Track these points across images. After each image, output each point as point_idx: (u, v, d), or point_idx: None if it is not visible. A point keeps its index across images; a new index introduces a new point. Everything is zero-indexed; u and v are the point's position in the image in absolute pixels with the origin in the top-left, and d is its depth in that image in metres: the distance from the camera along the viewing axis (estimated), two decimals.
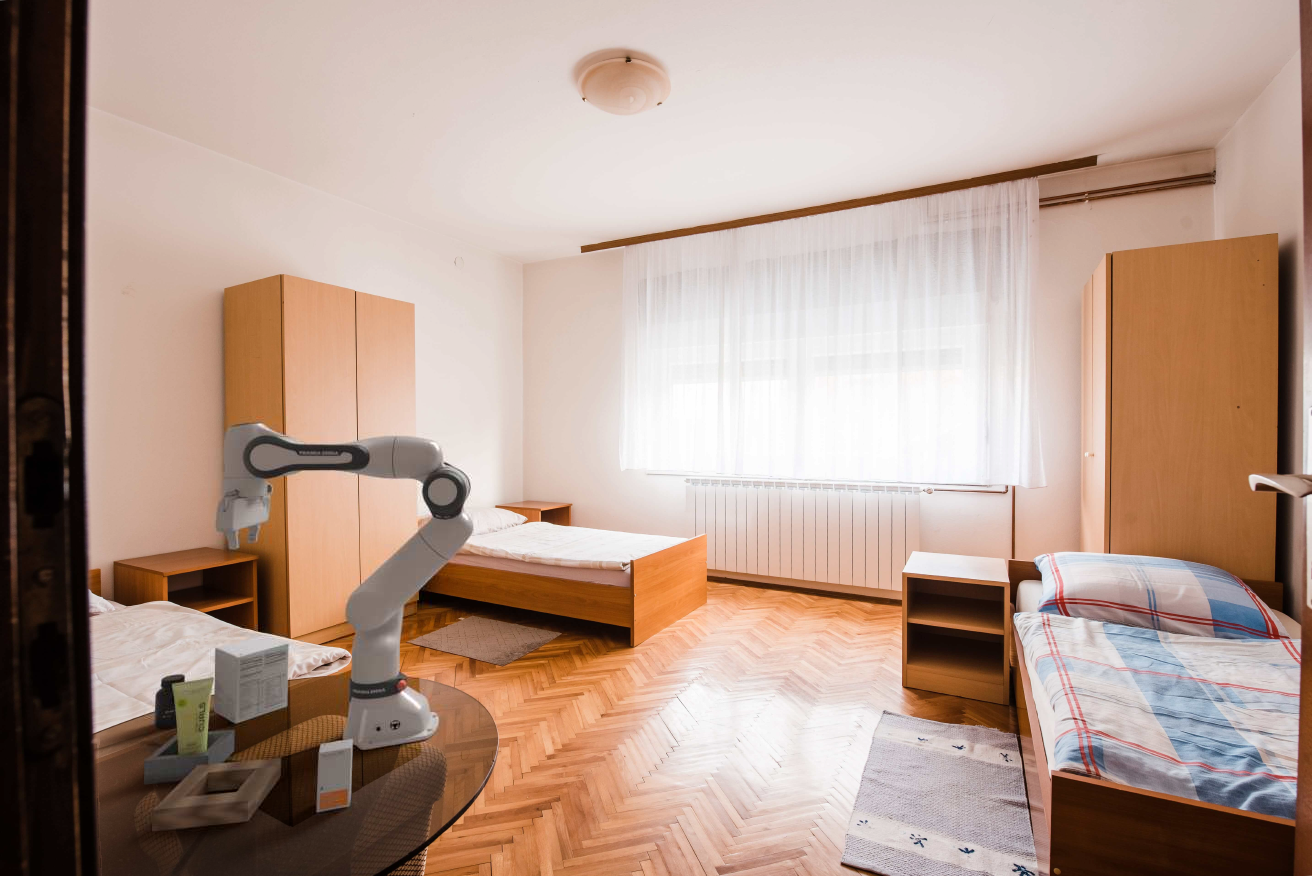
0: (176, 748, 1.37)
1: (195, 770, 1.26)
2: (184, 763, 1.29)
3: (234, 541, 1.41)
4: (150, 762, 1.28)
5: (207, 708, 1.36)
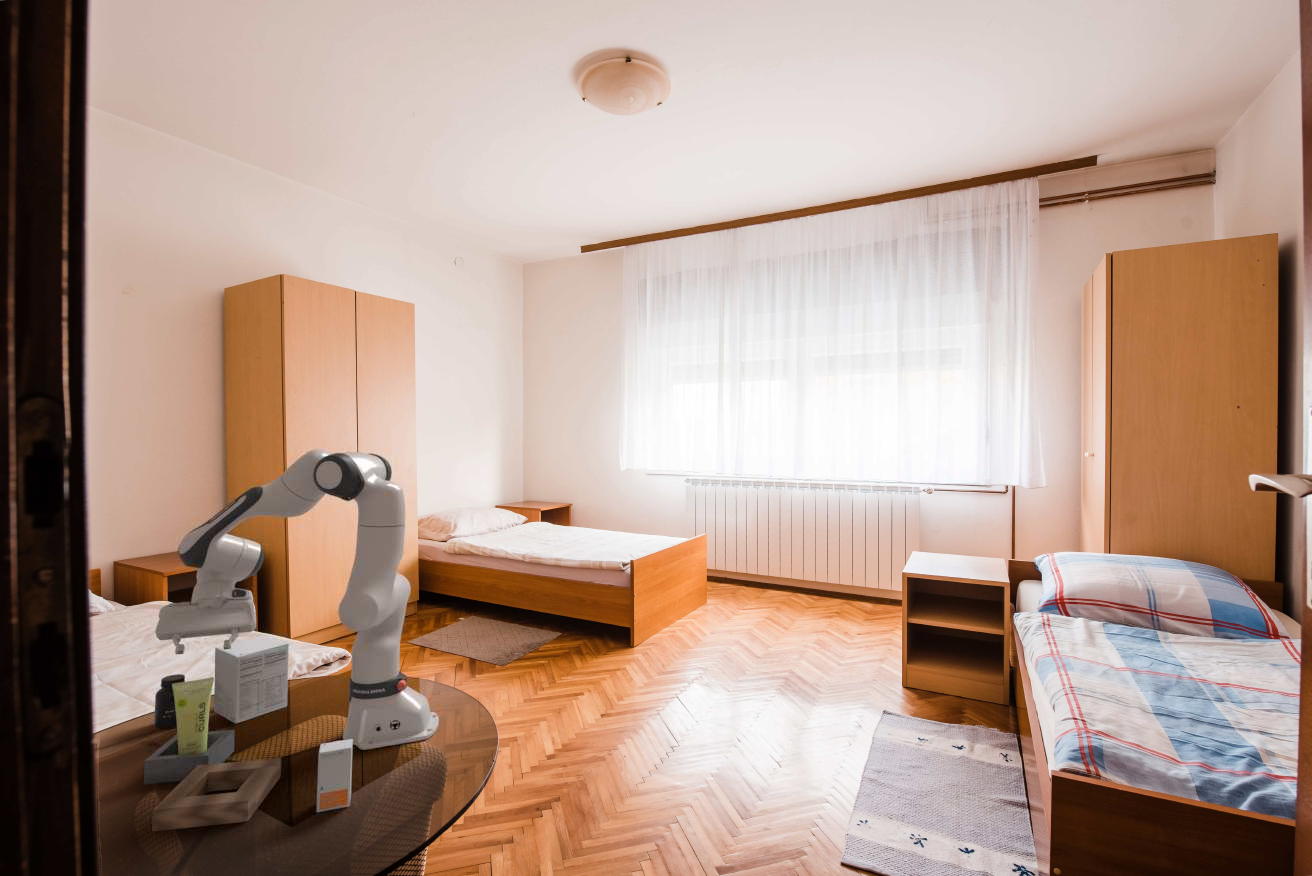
0: (176, 748, 1.37)
1: (195, 770, 1.26)
2: (184, 763, 1.29)
3: (175, 645, 1.44)
4: (150, 762, 1.28)
5: (207, 708, 1.36)
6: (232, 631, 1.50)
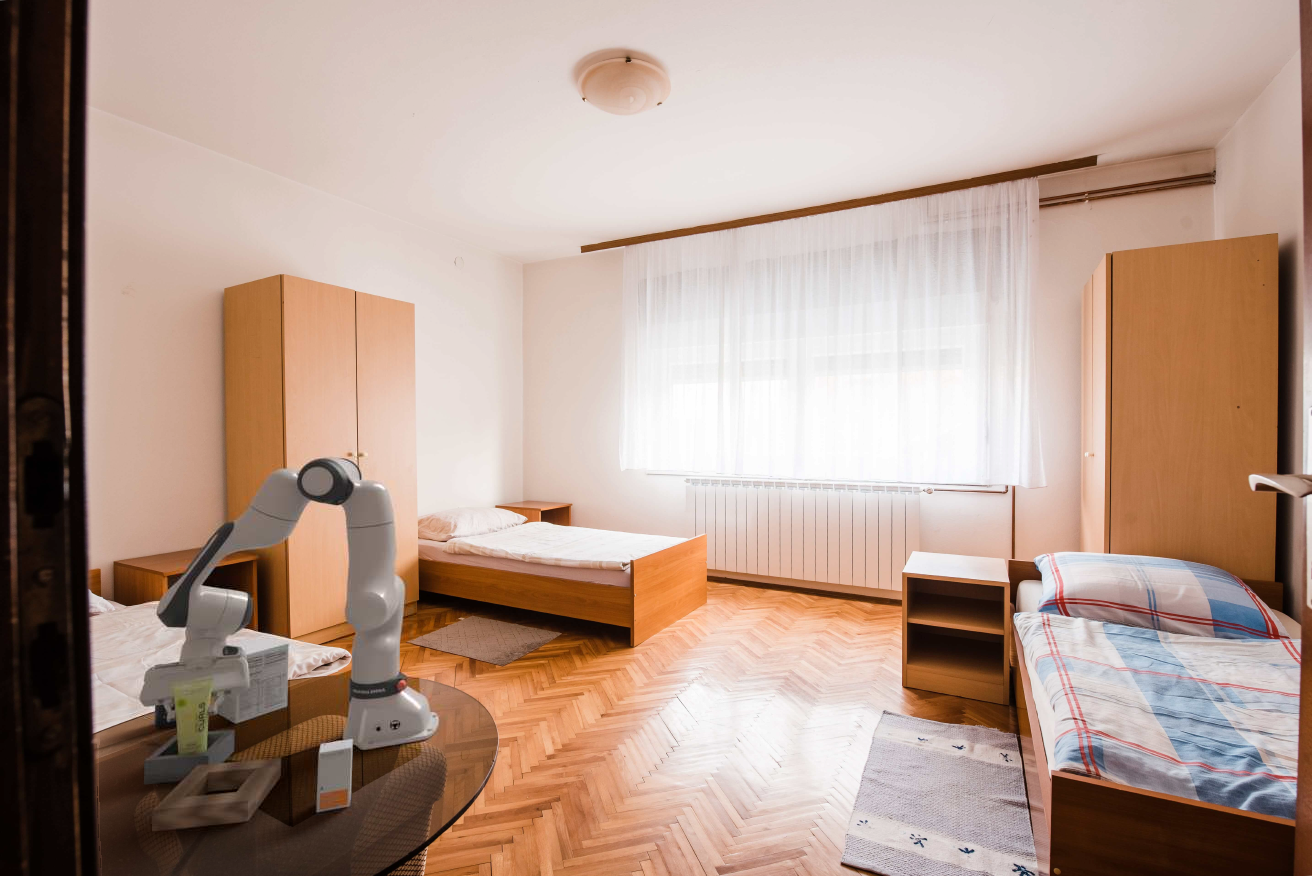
0: (176, 748, 1.37)
1: (195, 770, 1.26)
2: (184, 763, 1.29)
3: (167, 711, 1.33)
4: (150, 762, 1.28)
5: (207, 708, 1.36)
6: (218, 694, 1.38)
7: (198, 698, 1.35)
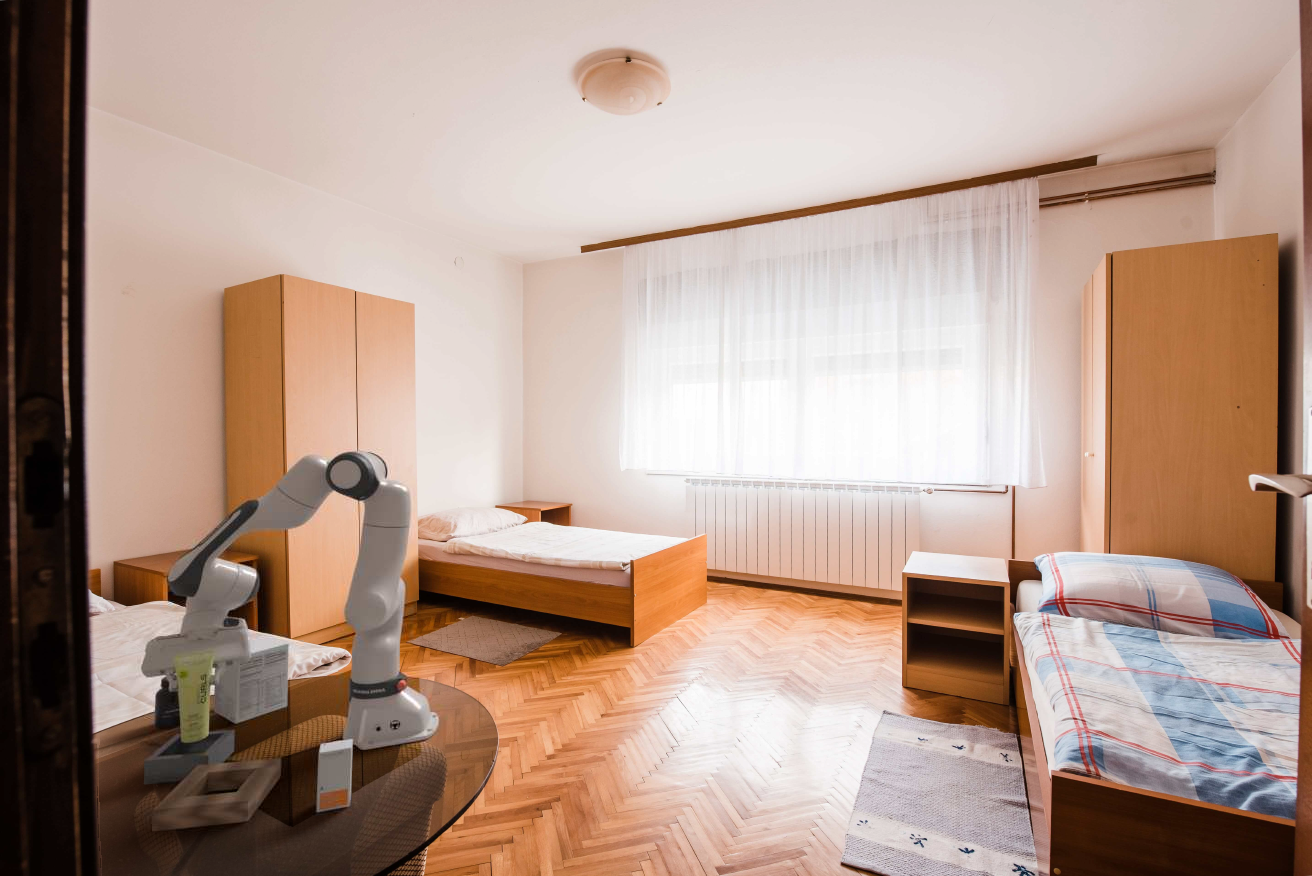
0: (176, 748, 1.37)
1: (195, 770, 1.26)
2: (184, 763, 1.29)
3: (169, 681, 1.33)
4: (150, 762, 1.28)
5: (209, 680, 1.36)
6: (219, 665, 1.38)
7: (200, 670, 1.35)
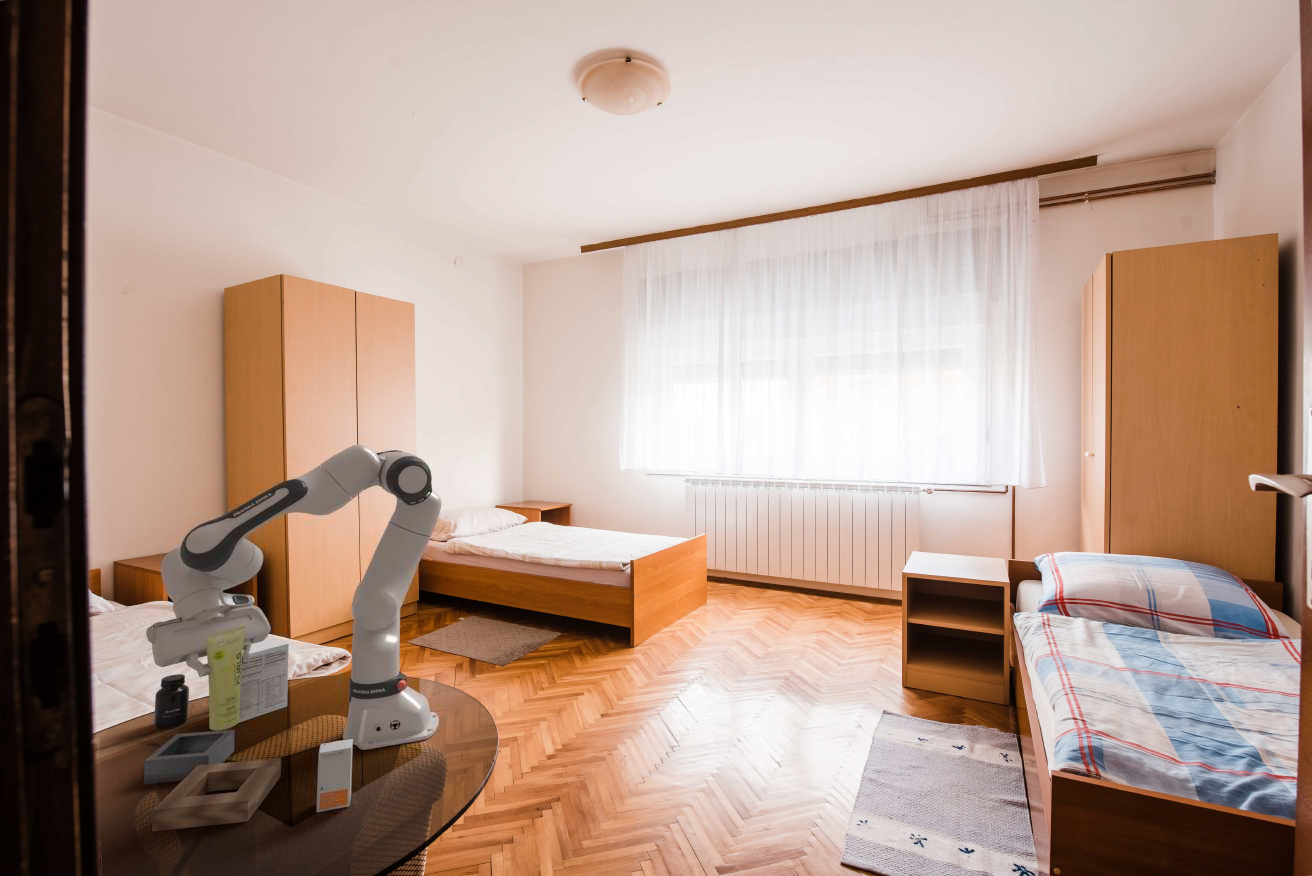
0: (176, 748, 1.37)
1: (195, 770, 1.26)
2: (184, 763, 1.29)
3: (198, 666, 1.19)
4: (150, 762, 1.28)
5: (241, 659, 1.24)
6: (245, 643, 1.27)
7: (235, 648, 1.23)
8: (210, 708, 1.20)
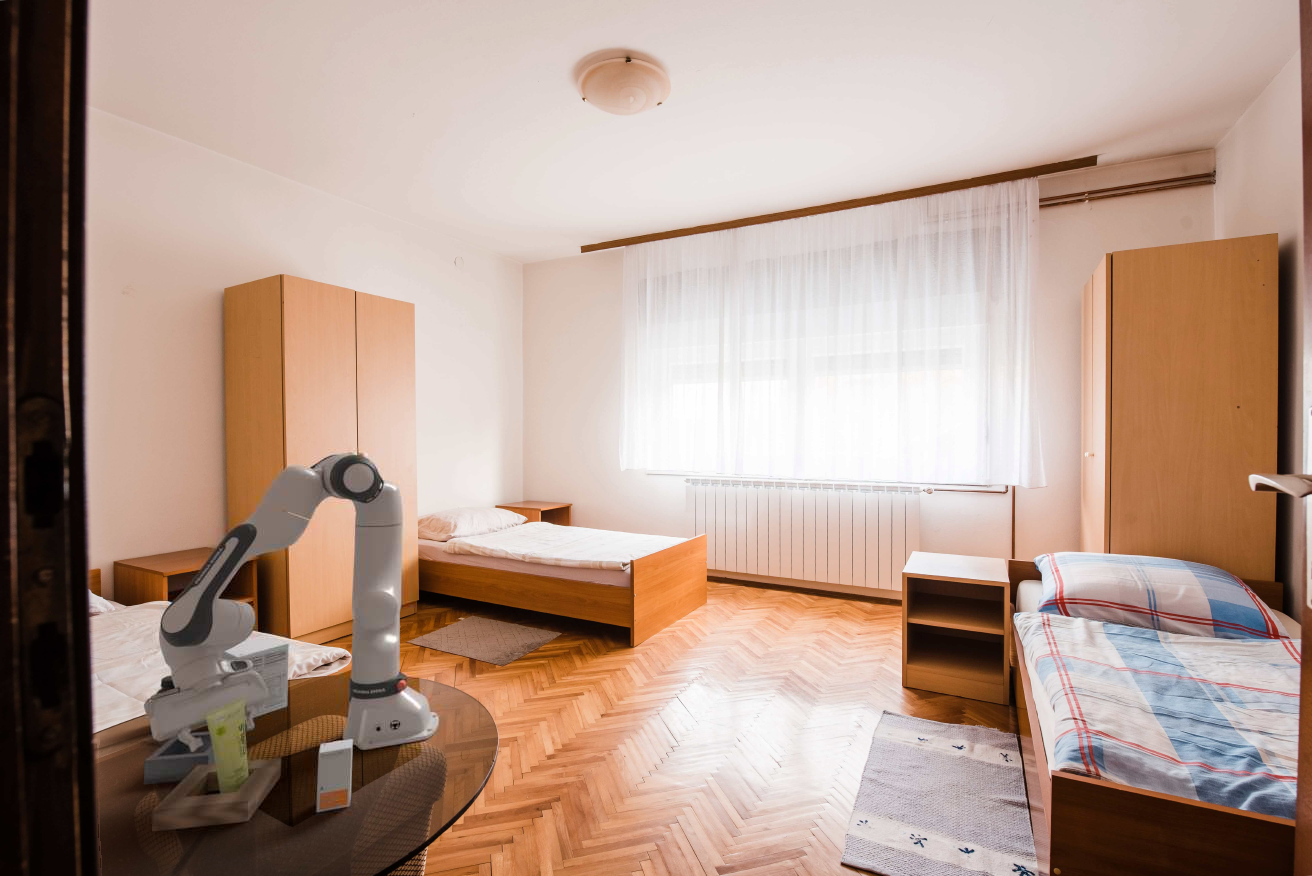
0: (176, 748, 1.37)
1: (195, 770, 1.26)
2: (184, 763, 1.29)
3: (190, 741, 1.18)
4: (150, 762, 1.28)
5: None
6: (248, 709, 1.28)
7: (236, 721, 1.23)
8: (219, 781, 1.22)
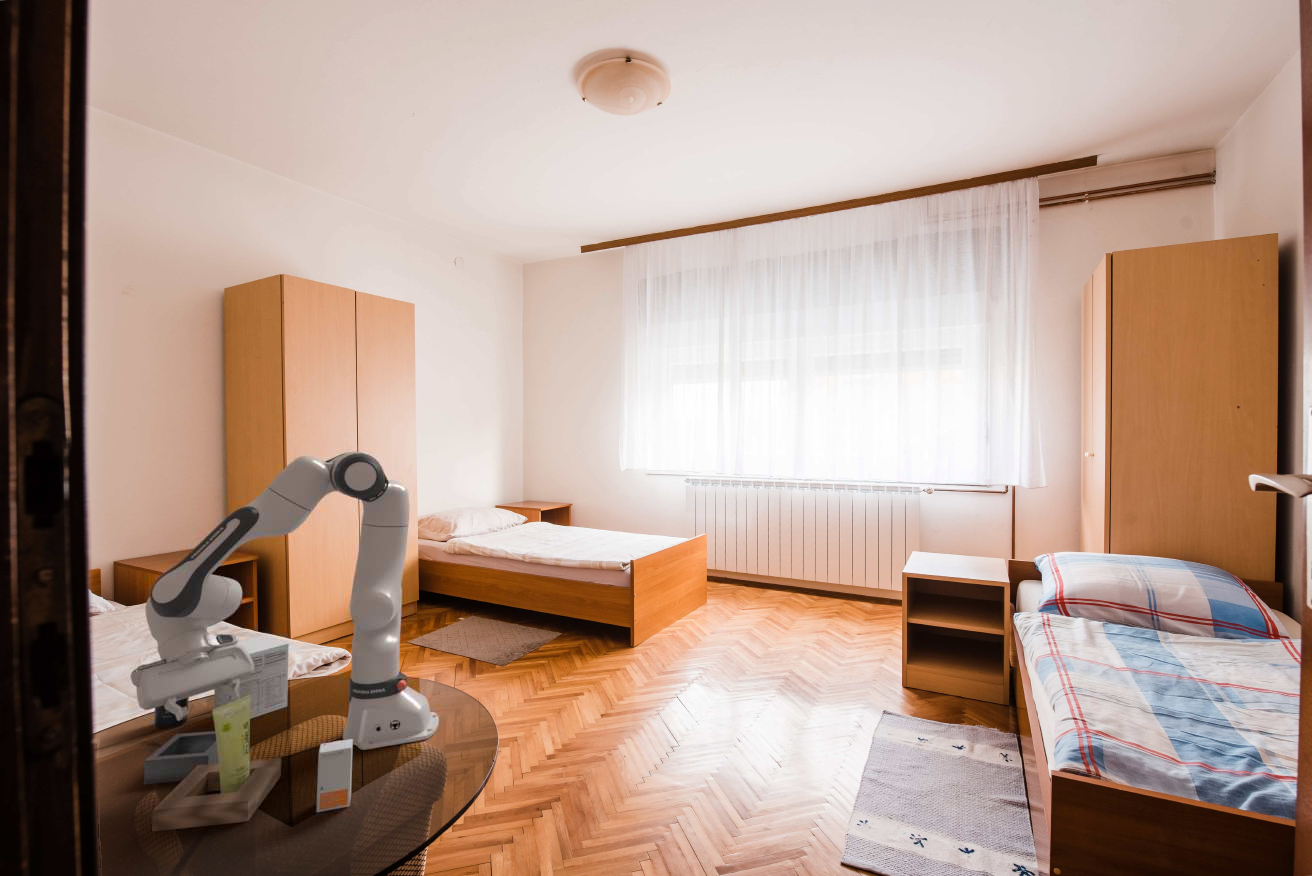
0: (176, 748, 1.37)
1: (195, 770, 1.26)
2: (184, 763, 1.29)
3: (176, 710, 1.20)
4: (150, 762, 1.28)
5: (249, 728, 1.26)
6: (234, 681, 1.31)
7: (242, 719, 1.25)
8: (221, 780, 1.22)
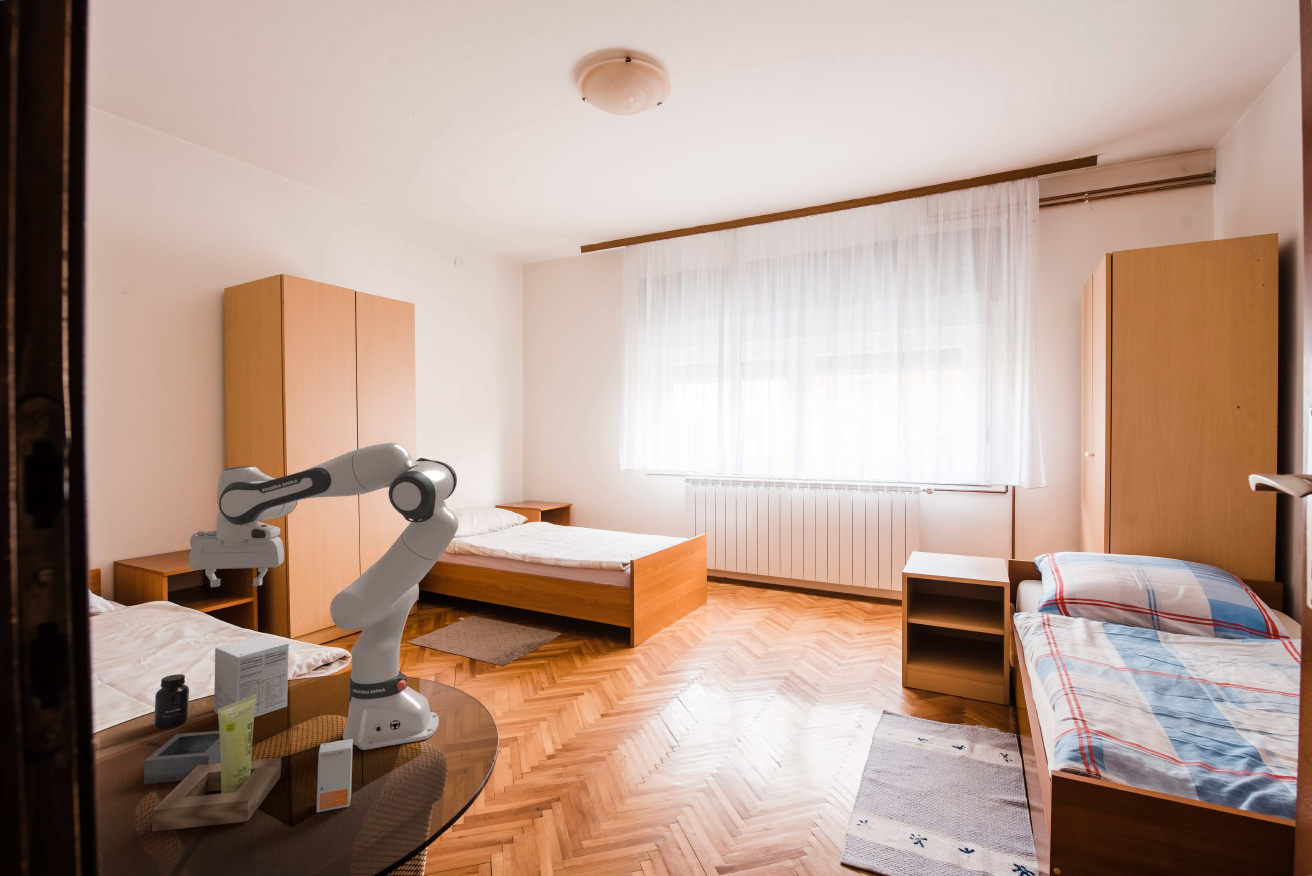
0: (176, 748, 1.37)
1: (195, 770, 1.26)
2: (184, 763, 1.29)
3: None
4: (150, 762, 1.28)
5: (252, 729, 1.26)
6: (259, 570, 1.51)
7: (246, 719, 1.25)
8: (222, 779, 1.22)
